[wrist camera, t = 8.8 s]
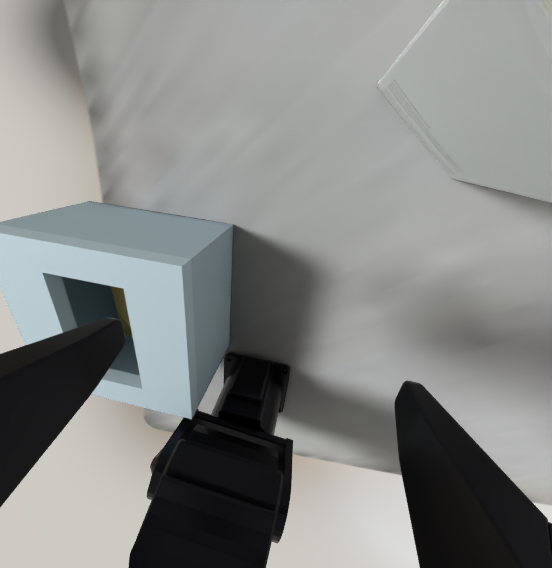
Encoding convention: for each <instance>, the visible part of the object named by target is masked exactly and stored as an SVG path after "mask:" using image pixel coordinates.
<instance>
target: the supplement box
mask: <svg viewBox="0 0 552 568" xmlns="http://www.w3.org/2000/svg"><path fill="white" fill-rule="evenodd" d="M377 87H378V88H379V89H380V90H381V92H382V93H383V94H384V95H385V97H386V98H387V99H388V101H389V102H390V103H391V104H392V105H393V107H394V108H395V109H396V110H397V112H398V113H399V114H400V115H401V116H402V118H403V119H404V120H405V122H406V123H407V124H408V125H409V127H410V128H411V129H412V130H413V131H414V133H415V134H416V135H417V137H418V138H419V139H420V140H421V142H422V143H423V144H424V145H425V147H426V148H427V149H428V150H429V152H430V153H431V154H432V155H433V157H434V158H435V159H436V160H437V162H438V163H439V164H440V165H441V167H442V168H443V169H444V170H445V172H446V173H447V174H448V175H449V177H450V178H452V179H455V180H460V181H465V182H468V183H472V184H476V185H480V186H485V187H489V188H493V189H497V190H501V191H505V192H510V193H514V194H518V195H521V196H525V197H529V198H533V199H537V200H541V201H546V202H550V203H552V0H443V1H442V3H441V4H440V5H439V6H438V8H437V9H436V10H435V11H434V13H433V14H432V15H431V16H430V18H429V19H428V20H427V22H426V23H425V24H424V25H423V27H422V28H421V29H420V31H419V32H418V33H417V34H416V36H415V37H414V38H413V39H412V41H411V42H410V43H409V44H408V46H407V47H406V48H405V49H404V51H403V52H402V53H401V54H400V56H399V57H398V58H397V59H396V61H395V62H394V63H393V65H392V66H391V67H390V68H389V70H388V71H387V72H386V73H385V74H384V76H383V77H382V78H381V79H380V80H379V81H378V83H377Z"/></svg>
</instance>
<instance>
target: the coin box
mask: <svg viewBox="0 0 552 568" xmlns="http://www.w3.org/2000/svg"><path fill="white" fill-rule="evenodd" d="M232 244H233V224H227V223H221V222H215V221H209V220H203V219H197V218H190V217H184V216H178V215H172V214H166V213H160V212H153V211H147V210H141V209H135V208H129V207H123V206H117V205H110V204H104V203H98V202H92V201H88V202H84V203H80V204H76V205H71V206H67V207H63V208H58V209H54V210H50V211H46V212H41V213H37V214H33V215H29V216H24V217H20V218H15V219H11V220H7V221H3V222H0V289H1V291H2V293H3V295H4V298H5V300H6V302H7V304H8V307H9V309H10V311H11V313H12V315H13V318H14V320H15V322H16V325H17V327H18V329H19V331H20V334H21V336H22V338H23V340H24V343H25V345H28V344H31V343H34V342H37V341H40V340H43V339H46V338H49V337H52V336H54V335H57V334H60V333H63V332H66V331H69V330H72V329H75V328H78V327H81V326H84V325H87V324H89V323H92V322H95V321H98V320H101V319H104V318H108V317H109V318H115V319H119V316H118V312H117V309H116V305H115V301H114V297H113V293H112V289H111V286H113V287H118V288H123V289H124V294H125V299H126V304H127V310H128V315H129V320H130V325H131V331H132V336H133V337H128V336H125V339H126V340H125V344H124V347H123V348H122V350H121V351H120V353H119V354H118V356H117V357H116V359H115V360H114V362H113V363H112V365H111V366H110V368H109V369H108V371H107V372H106V374H105V375H104V377H103V378H102V380H101V381H100V383H99V384H98V386H97V387H96V388H95V390H94V391H93V392H92V395H95V396H99V397H104V398H108V399H112V400H116V401H120V402H124V403H128V404H132V405H136V406H140V407H144V408H148V409H152V410H156V411H160V412H164V413H168V414H172V415H176V416H180V417H185V418H189V419H192V418H193V416H194V414H195V412H196V410H197V408H198V406H199V404H200V402H201V400H202V398H203V396H204V394H205V392H206V390H207V388H208V386H209V384H210V382H211V380H212V378H213V376H214V374H215V372H216V370H217V368H218V366H219V365H220V363H221V361H222V359H223V357H224V355H225V353H226V351H227V349H228V347H229V335H230V305H231V275H232Z"/></svg>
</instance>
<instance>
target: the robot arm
mask: <svg viewBox="0 0 552 568" xmlns="http://www.w3.org/2000/svg"><path fill="white" fill-rule="evenodd" d="M125 340H126V339H125V333H124V329H123V324H122V322H121V320H119V319H115V318H109V317H108V318H104V319H101V320H98V321H95V322H92V323H89V324H87V325H84V326H81V327H78V328H75V329H72V330H69V331H66V332H63V333H60V334H57V335H54V336H52V337H49V338H46V339H43V340H40V341H37V342H34V343H31V344H28V345H25V346H22V347H20V348H17V349H14V350H11V351H8V352H5V353H2V354H0V507H1V506H2V505H3V503H4V502H5V501H6V499H7V498H8V497H9V496H10V495H11V493H12V492H13V491H14V490H15V488H16V487H17V486H18V485H19V483H20V482H21V481H22V479H23V478H24V477H25V476H26V475H27V473H28V472H29V471H30V470H31V468H32V467H33V466H34V465H35V463H36V462H37V461H38V460H39V458H40V457H41V456H42V455H43V453H44V452H45V451H46V450H47V448H48V447H49V446H50V445H51V444H52V442H53V441H54V440H55V439H56V437H57V436H58V435H59V434H60V432H61V431H62V430H63V429H64V427H65V426H66V425H67V424H68V422H69V421H70V420H71V419H72V417H73V416H74V415H75V414H76V412H77V411H78V410H79V409H80V407H81V406H82V405H83V404H84V402H85V401H86V400H87V399H88V397H89V396H90V395H91V394H92V392H93V391H94V390H95V388H96V387H97V386H98V384H99V383H100V381H101V380H102V378H103V377H104V375H105V374H106V372H107V371H108V369H109V368H110V366H111V365H112V363H113V362H114V360H115V359H116V357H117V356H118V354H119V353H120V351H121V350H122V348H123V347H124V344H125ZM230 358H231V359H230ZM284 370H286V371H284ZM289 375H290V367H289V366H287V365H284V364H279V363H274V362H270V361H265V360H260V359H256V358H251V357H247V356H242V355H237V354H233V353H227V354H226V356H225V358H224V387H223V389H222V391H221V393H220V396H219V398H218V400H217V402H216V405H215V407H214V409H213V411H212V414H211V415H210V414H207V413H204V412H201V411H199V409H197V410H196V412H195V414H194V416H193V418H192V419H189V418H185V417H184V418H183V420H182V421H181V423H180V424H179V426H178V427H177V429H176V430H175V431H174V433H173V435H172V436H171V437H170V439H169V440H168V442H167V443H166V445H165V446H164V448H163V449H162V450H161V451H160V452H159V453H158V454H157V455H156V456H155V458H154V459H153V461H152V463H151V466H150V468H151V472H152V477H151V481H150V484H149V488H148V491H147V498H148V499H151V500H152V501H151V504H150V506H149V509H148V511H147V514H146V516H145V519H144V521H143V524H142V526H141V529H140V531H139V534H138V536H137V539H136V542H135V544H134V546H133V548H132V550H131V553H130V558H129V568H266V564H267V559H268V555H269V551H270V546H271V542H275V543H278V542H279V541H280V539H281V536H282V533H283V530H284V526H285V522H286V518H287V513H288V508H289V501H290V494H291V478H292V451H293V440H291V439H288V438H286V439H284V438H281V437H278V436H274V432H275V427H276V422H277V416H278V413H280V412H282V411H283V407H284V402H285V397H286V391H287V386H288V381H289ZM395 418H396V429H397V441H398V452H399V461H400V467H401V473H402V477H403V483H404V488H405V493H406V498H407V503H408V509H409V514H410V519H411V524H412V529H413V534H414V540H415V545H416V550H417V555H418V560H419V565H420V568H552V523H549V522H548V519H547V518H546V517H545V516H544V515H543V513H542V512H541V511H540V510H539V509H538V508H537V507H536V506H535V505H534V504H533V503H532V502H531V501H530V500H529V499H528V497H527V496H526V495H525V494H524V493H523V492H522V491H521V490H520V489H519V488H518V487H517V486H516V485H515V484H514V483H513V481H512V480H511V479H510V478H509V477H508V476H507V475H506V474H505V473H504V472H503V471H502V470H501V469H500V468H499V467H498V465H497V464H496V463H495V462H494V461H493V460H492V459H491V458H490V457H489V456H488V455H487V454H486V453H485V452H484V451H483V449H482V448H481V447H480V446H479V445H478V444H477V443H476V442H475V441H474V440H473V439H472V438H471V437H470V436H469V435H468V433H467V432H466V431H465V430H464V429H463V428H462V427H461V426H460V425H459V424H458V423H457V422H456V421H455V420H454V418H453V417H452V416H451V415H450V414H449V413H448V412H447V411H446V410H445V409H444V408H443V407H442V406H441V405H440V404H439V402H438V401H437V400H436V399H435V398H434V397H433V396H432V395H431V394H430V393H429V392H428V391H427V390H426V389H425V388H424V386H423V385H421V384H420V383H416V382H412V381H405V382H404V383H403V385H402V387H401V389H400V391H399V393H398V395H397V397H396V399H395Z"/></svg>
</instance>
